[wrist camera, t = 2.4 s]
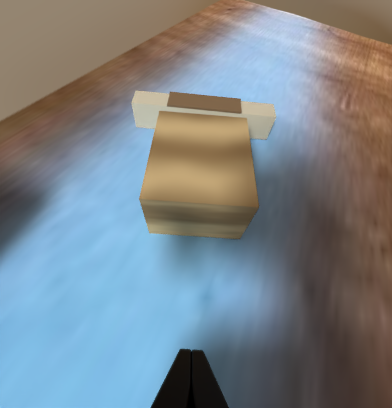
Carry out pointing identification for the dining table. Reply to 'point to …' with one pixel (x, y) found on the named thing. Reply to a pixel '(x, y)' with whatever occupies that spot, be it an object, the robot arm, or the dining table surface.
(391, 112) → the dining table surface
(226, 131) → the oak block
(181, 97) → the cream board
